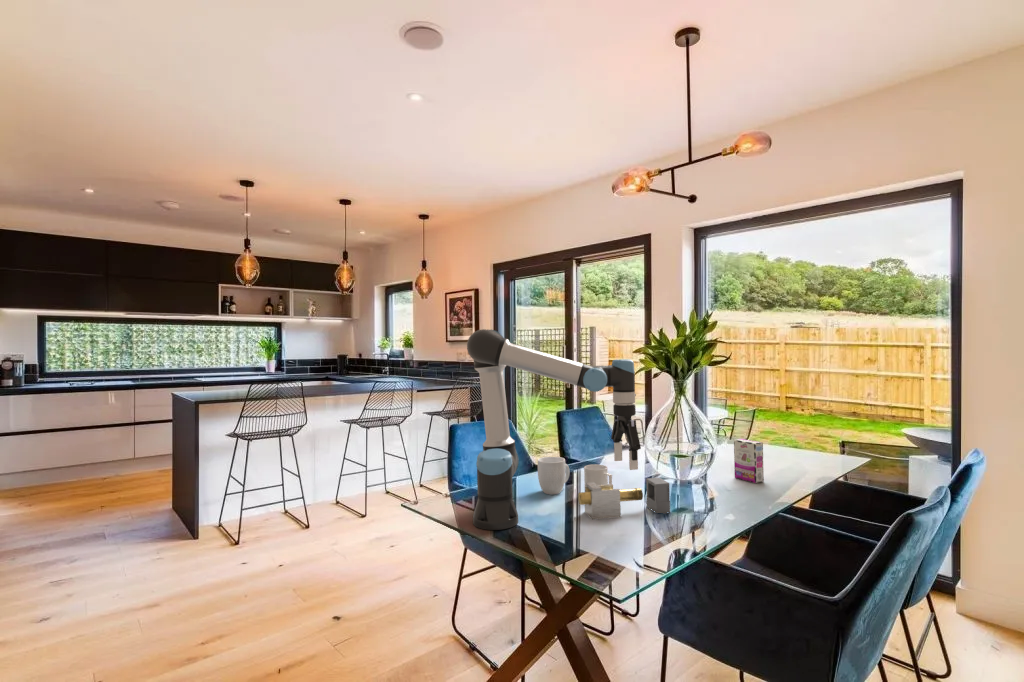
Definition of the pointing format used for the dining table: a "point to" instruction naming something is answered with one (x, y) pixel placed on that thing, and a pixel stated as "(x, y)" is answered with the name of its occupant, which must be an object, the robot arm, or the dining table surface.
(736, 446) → the candy bar box
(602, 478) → the mug
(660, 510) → the socket
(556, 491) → the mug
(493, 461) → the robot arm
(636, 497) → the tube
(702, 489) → the dining table surface
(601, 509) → the grey tube holder
